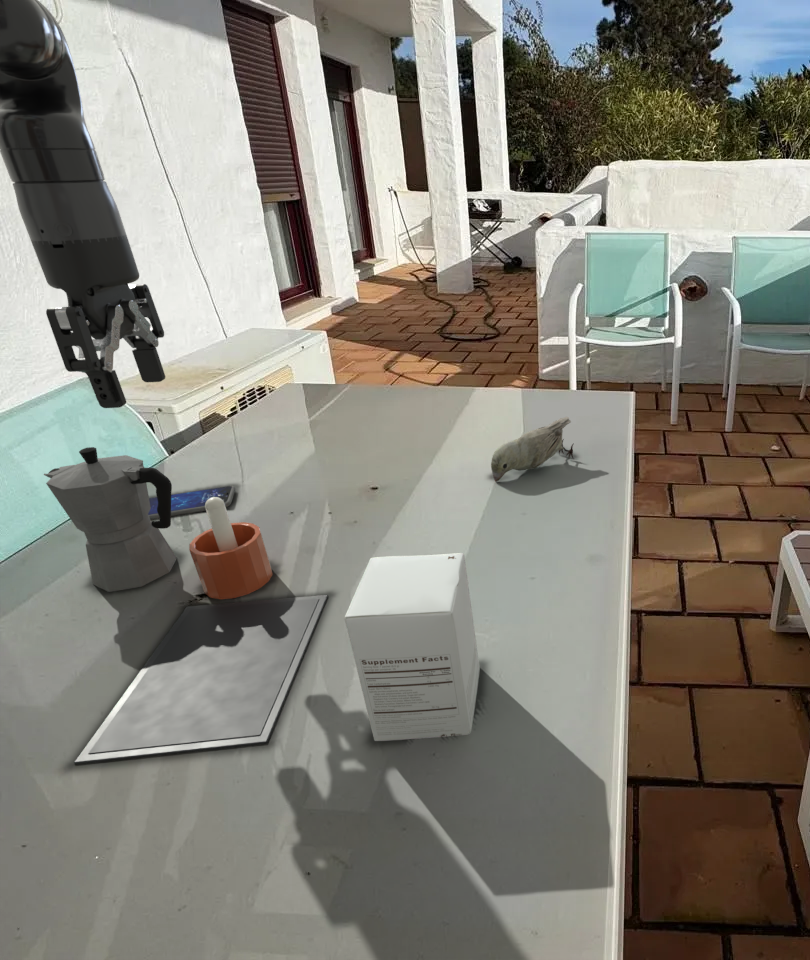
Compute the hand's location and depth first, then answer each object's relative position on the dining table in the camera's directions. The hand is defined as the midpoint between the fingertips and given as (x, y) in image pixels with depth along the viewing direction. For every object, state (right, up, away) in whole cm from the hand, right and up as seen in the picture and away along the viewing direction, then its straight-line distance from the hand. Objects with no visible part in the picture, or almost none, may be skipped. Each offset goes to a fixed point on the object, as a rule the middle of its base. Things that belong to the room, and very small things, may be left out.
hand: (135, 393), depth 69 cm
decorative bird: (+39, -7, +41) cm, 57 cm away
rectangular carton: (+34, -32, -7) cm, 47 cm away
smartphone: (-15, -14, +30) cm, 36 cm away
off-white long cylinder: (+5, -22, +11) cm, 25 cm away
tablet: (+11, -29, -2) cm, 32 cm away
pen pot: (+5, -23, +11) cm, 26 cm away
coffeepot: (-9, -22, +14) cm, 27 cm away
